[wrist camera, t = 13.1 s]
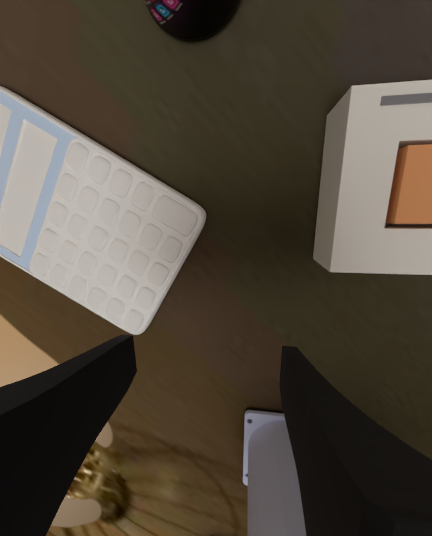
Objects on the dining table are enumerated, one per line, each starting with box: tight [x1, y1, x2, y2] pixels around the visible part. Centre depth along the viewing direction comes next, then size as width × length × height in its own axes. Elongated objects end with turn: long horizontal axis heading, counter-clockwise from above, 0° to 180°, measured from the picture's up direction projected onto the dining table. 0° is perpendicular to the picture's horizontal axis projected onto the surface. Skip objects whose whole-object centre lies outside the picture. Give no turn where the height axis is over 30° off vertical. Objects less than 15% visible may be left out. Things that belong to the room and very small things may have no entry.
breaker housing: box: [313, 80, 432, 275], centre depth 14 cm, size 10×10×4 cm
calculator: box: [0, 86, 206, 335], centre depth 20 cm, size 13×20×2 cm, turn 60°
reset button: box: [385, 144, 432, 224], centre depth 14 cm, size 4×4×3 cm
